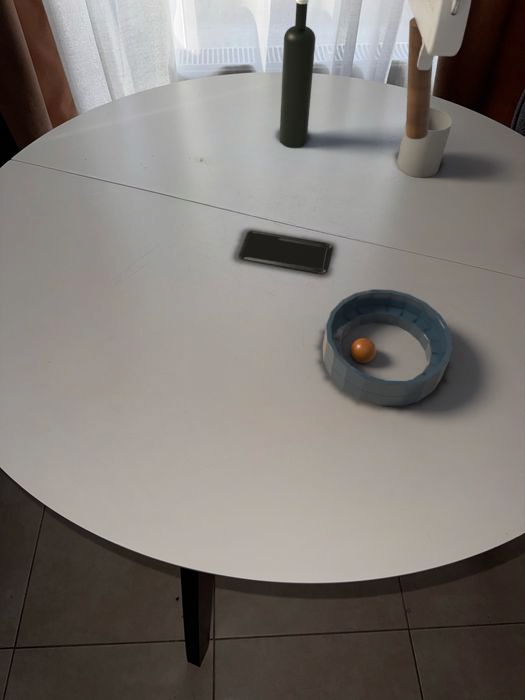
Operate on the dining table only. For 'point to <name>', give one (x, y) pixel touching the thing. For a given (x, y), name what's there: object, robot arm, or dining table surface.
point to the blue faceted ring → (399, 313)
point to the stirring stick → (417, 88)
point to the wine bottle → (297, 79)
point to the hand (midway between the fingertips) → (419, 59)
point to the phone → (285, 252)
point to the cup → (425, 147)
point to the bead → (363, 350)
